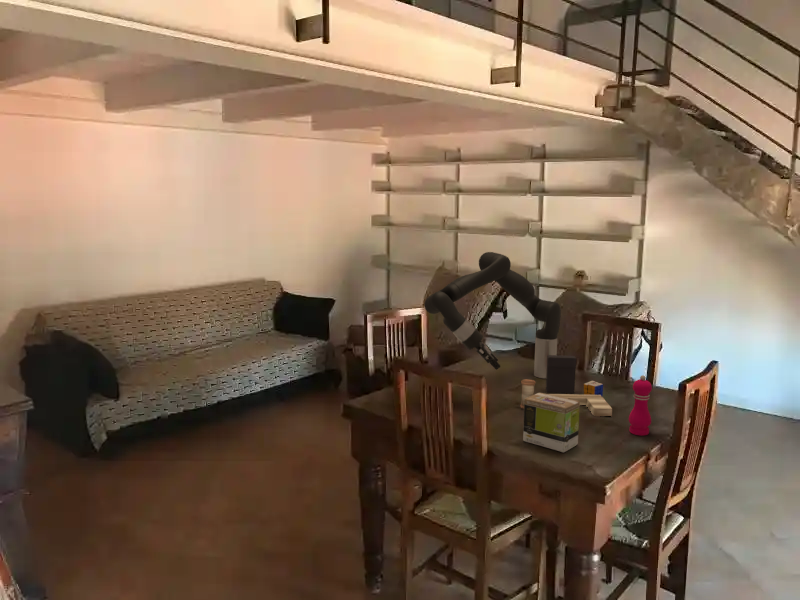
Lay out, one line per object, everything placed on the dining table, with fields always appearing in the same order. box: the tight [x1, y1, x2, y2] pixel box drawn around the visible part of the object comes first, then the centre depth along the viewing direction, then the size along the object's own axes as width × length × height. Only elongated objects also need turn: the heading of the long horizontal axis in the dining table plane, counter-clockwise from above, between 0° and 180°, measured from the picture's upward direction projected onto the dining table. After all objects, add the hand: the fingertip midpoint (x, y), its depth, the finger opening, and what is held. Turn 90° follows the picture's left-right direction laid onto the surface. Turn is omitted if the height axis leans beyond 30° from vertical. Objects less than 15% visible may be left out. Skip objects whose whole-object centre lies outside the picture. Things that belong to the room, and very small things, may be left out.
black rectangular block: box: [545, 354, 577, 394], centre depth 266 cm, size 11×4×15 cm, turn 84°
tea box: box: [522, 392, 581, 453], centre depth 213 cm, size 15×10×15 cm
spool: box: [519, 379, 536, 410], centre depth 248 cm, size 5×5×10 cm
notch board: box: [548, 393, 613, 418], centre depth 247 cm, size 16×20×3 cm
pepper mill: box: [628, 374, 653, 437], centre depth 223 cm, size 7×7×20 cm
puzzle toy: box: [583, 380, 604, 397], centre depth 262 cm, size 6×5×6 cm
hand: (497, 364), depth 247 cm, fingers open, 8 cm apart
